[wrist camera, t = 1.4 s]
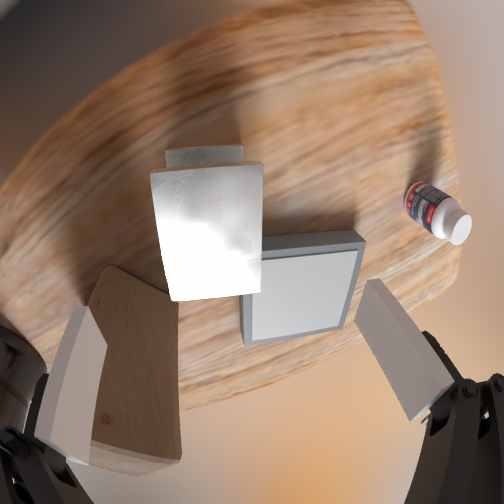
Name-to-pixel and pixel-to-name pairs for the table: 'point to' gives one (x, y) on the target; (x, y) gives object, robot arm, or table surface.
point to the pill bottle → (437, 212)
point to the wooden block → (135, 377)
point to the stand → (302, 285)
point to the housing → (209, 221)
